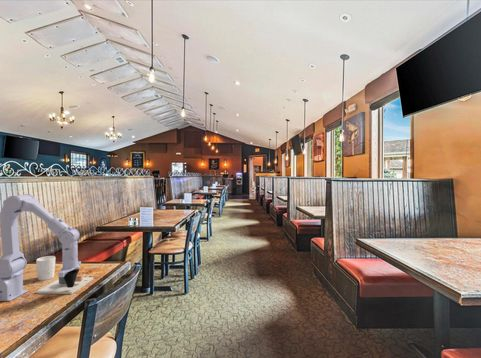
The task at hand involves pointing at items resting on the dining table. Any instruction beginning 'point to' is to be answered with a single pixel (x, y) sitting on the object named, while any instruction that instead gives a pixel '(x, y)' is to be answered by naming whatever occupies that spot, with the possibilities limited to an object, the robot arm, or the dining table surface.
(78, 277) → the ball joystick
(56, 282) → the joystick base
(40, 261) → the white cup
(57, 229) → the robot arm
